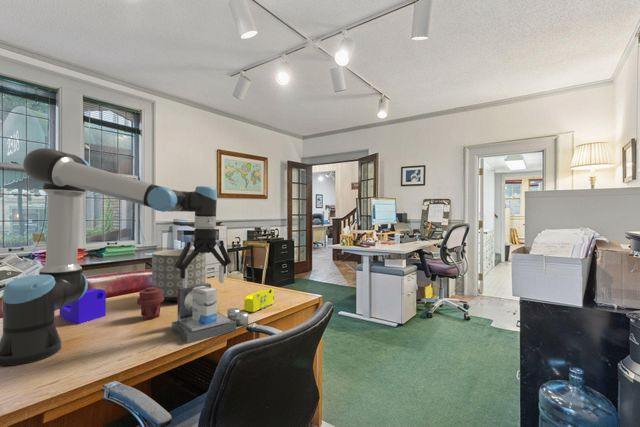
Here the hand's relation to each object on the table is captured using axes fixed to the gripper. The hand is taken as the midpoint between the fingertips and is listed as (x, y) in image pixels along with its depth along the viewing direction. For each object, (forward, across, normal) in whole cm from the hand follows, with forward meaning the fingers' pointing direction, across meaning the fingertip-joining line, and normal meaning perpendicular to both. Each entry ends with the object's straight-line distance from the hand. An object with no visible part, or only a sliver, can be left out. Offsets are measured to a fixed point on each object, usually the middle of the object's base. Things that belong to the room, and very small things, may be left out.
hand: (203, 284), depth 116 cm
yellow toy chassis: (+17, +31, +11) cm, 37 cm away
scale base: (+17, +1, +2) cm, 17 cm away
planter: (+18, +9, +52) cm, 56 cm away
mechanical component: (+18, -10, +29) cm, 36 cm away
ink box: (+13, 0, 0) cm, 13 cm away
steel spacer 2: (+17, +15, -3) cm, 23 cm away
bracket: (+19, -33, +49) cm, 62 cm away
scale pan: (+14, +1, 0) cm, 14 cm away
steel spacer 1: (+17, +15, +4) cm, 23 cm away
